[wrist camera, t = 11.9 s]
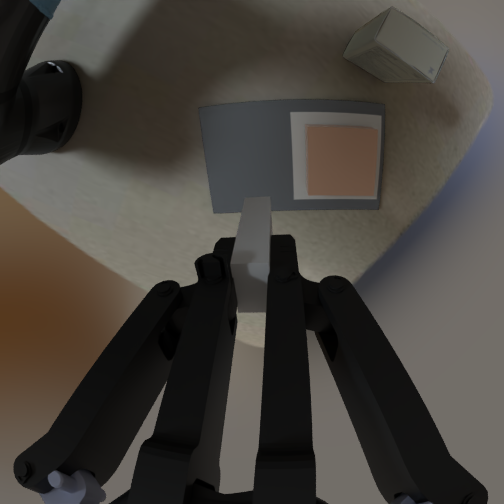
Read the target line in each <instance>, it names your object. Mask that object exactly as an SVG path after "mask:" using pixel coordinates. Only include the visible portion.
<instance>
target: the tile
mask: <svg viewBox="0 0 504 504" xmlns="http://www.w3.org/2000/svg"><path fill="white" fill-rule="evenodd" d="M377 144H378V130H377V129H375V128H373V127H367V126H352V125H329V124H305V145H306V190H307V193H308V196H313V195H349V196H374V187H375V176H376V162H377Z"/></svg>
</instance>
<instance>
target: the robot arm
mask: <svg viewBox="0 0 504 504" xmlns="http://www.w3.org/2000/svg"><path fill="white" fill-rule="evenodd" d="M60 1H61V0H0V164H2V163H4V162H6V161H8V160H10V159H11V158H13V157H15V156H18V155H42V154H47V153H50V152H52V151H54V150H56V149H58V148H60V147H62V146H63V145H64V144H65V143H66V142H67V141H68V140H69V139H70V137H71V136H72V134H73V132H74V130H75V128H76V126H77V123H78V120H79V117H80V112H81V105H82V91H81V85H80V81H79V78H78V76H77V74H76V72H75V70H74V69H73V68H72V67H71V66H70V65H69V64H68V63H66V62H64V61H60V60H53V61H45V62H41V63H39V64H37V65H35V66H33V67H31V68H29V69H27V70H25V69H26V67H27V64H28V62H29V60H30V57H31V55H32V53H33V51H34V49H35V47H36V44H37V42H38V40H39V38H40V37H41V35H42V33H43V31H44V29H45V27H46V26H47V24H48V22H49V21H50V20H51V19H52V18H53V14H54V12H55V10H56V8H57V6H58V5H59V3H60ZM194 264H195V268H196V271H197V275H198V282H197V283H195V284H192V285H189V286H185V287H180V285H179V284H178V283H177V282H175V281H173V280H167V281H162V282H160V283H158V284H156V285H155V286H154V287H153V288H152V289H151V290H150V291H149V293H148V294H147V295H146V297H145V298H144V299H143V300H142V301H141V303H140V304H139V305H138V307H137V308H136V309H135V310H134V312H133V313H132V314H131V315H130V317H129V318H128V319H127V321H126V322H125V323H124V324H123V326H122V327H121V328H120V330H119V331H118V332H117V334H116V335H115V336H114V337H113V339H112V340H111V341H110V343H109V344H108V345H107V347H106V348H105V349H104V351H103V352H102V354H101V355H100V356H99V358H98V359H97V361H96V362H95V363H94V365H93V366H92V367H91V369H90V370H89V372H88V373H87V374H86V376H85V377H84V379H83V380H82V381H81V383H80V384H79V386H78V387H77V389H76V390H75V392H74V393H73V395H72V396H71V397H70V399H69V401H68V402H67V404H66V405H65V406H64V408H63V409H62V411H61V413H60V414H59V416H58V417H57V419H56V420H55V422H54V423H53V425H52V427H51V428H50V430H49V432H48V433H46V434H45V435H44V436H43V437H42V438H40V439H39V440H38V441H37V442H35V443H34V444H33V445H32V446H30V447H29V448H28V449H26V450H25V451H24V452H22V453H21V454H20V455H19V456H18V457H17V458H16V459H15V462H14V474H15V478H16V479H17V481H18V482H19V483H20V484H21V485H22V486H23V487H25V488H28V489H30V490H32V491H35V492H38V493H39V494H40V496H41V497H42V499H43V501H44V503H45V504H99V503H100V502H102V501H104V500H105V499H106V493H105V491H104V490H103V489H101V487H102V486H103V485H104V484H105V483H106V482H107V481H108V480H109V479H110V477H111V476H112V475H113V474H114V472H115V471H116V470H117V468H118V466H119V465H120V463H121V461H122V460H123V458H124V456H125V454H126V452H127V450H128V449H129V447H130V445H131V443H132V442H133V440H134V438H135V436H136V434H137V433H138V431H139V429H140V427H141V426H142V424H143V421H144V420H145V418H146V417H147V415H148V413H149V411H150V409H151V408H152V406H153V404H154V402H155V401H156V399H157V397H158V395H159V394H160V392H161V390H162V388H163V387H164V385H165V383H166V381H167V384H166V387H165V391H164V395H163V398H162V402H161V406H160V410H159V413H158V417H157V421H156V426H155V429H154V433H153V435H152V436H151V438H149V439H147V440H145V441H144V442H143V444H142V445H141V447H140V450H139V454H138V458H137V462H136V466H135V470H134V474H133V479H132V483H131V488H130V489H129V490H128V491H127V492H125V493H124V494H122V495H121V496H120V497H118V498H117V499H115V500H114V501H112V502H111V503H109V504H328V503H326V502H325V501H323V500H321V499H320V498H318V497H316V463H315V454H314V451H313V441H312V414H311V394H310V376H309V362H308V348H307V336H306V329H307V330H312V331H315V335H316V337H317V340H318V342H319V345H320V347H321V349H322V351H323V354H324V356H325V359H326V361H327V363H328V366H329V368H330V370H331V373H332V375H333V377H334V380H335V382H336V385H337V387H338V389H339V392H340V394H341V397H342V399H343V401H344V404H345V406H346V409H347V411H348V414H349V416H350V419H351V421H352V424H353V426H354V428H355V431H356V434H357V436H358V439H359V441H360V444H361V447H362V449H363V452H364V454H365V457H366V459H367V462H368V465H369V467H370V470H371V473H372V475H373V478H374V480H375V482H376V485H377V487H378V489H379V491H380V493H381V494H382V495H383V497H384V499H385V500H386V501H387V502H388V504H487V501H488V492H487V490H486V488H485V487H484V486H483V485H482V484H481V483H480V482H479V481H478V480H477V479H476V478H474V477H473V476H472V475H471V474H470V473H469V472H468V471H467V470H465V469H464V468H463V467H462V466H461V465H460V464H459V463H458V462H457V461H455V459H453V458H452V457H451V456H450V454H449V452H448V450H447V447H446V445H445V443H444V441H443V439H442V437H441V435H440V433H439V431H438V429H437V427H436V425H435V423H434V421H433V419H432V417H431V415H430V413H429V411H428V409H427V407H426V405H425V404H424V402H423V400H422V398H421V396H420V394H419V393H418V391H417V389H416V387H415V385H414V384H413V382H412V380H411V378H410V377H409V375H408V373H407V371H406V370H405V368H404V366H403V364H402V363H401V361H400V359H399V358H398V356H397V355H396V353H395V351H394V349H393V348H392V346H391V344H390V343H389V341H388V339H387V338H386V336H385V335H384V333H383V331H382V330H381V328H380V326H379V325H378V323H377V322H376V320H375V319H374V317H373V316H372V314H371V312H370V311H369V309H368V308H367V306H366V305H365V303H364V302H363V300H362V299H361V297H360V296H359V294H358V293H357V291H356V290H355V288H354V287H353V285H352V284H351V282H349V281H348V280H347V279H346V278H344V277H341V276H336V275H335V276H328V277H325V278H323V279H322V280H321V281H320V283H317V282H313V281H309V280H307V279H305V278H304V277H302V276H301V274H300V273H299V269H298V261H297V252H296V244H295V239H294V238H293V237H292V236H291V235H290V234H288V235H272V217H271V200H270V196H269V197H249V198H245V200H244V204H243V209H242V213H241V218H240V222H239V226H238V231H237V235H236V237H229V238H221V239H220V240H219V241H218V242H217V243H216V244H215V247H214V251H213V253H209V254H205V255H203V256H201V257H199V258H198V259H197V260H196V261H195V263H194ZM237 307H238V313H239V312H266V327H265V348H264V368H263V386H262V403H261V420H260V435H259V448H258V453H257V457H256V465H255V477H254V489H253V491H247V492H241V493H233V494H222V493H219V485H220V467H219V458H220V450H221V442H222V435H223V426H224V419H225V412H226V404H227V396H228V389H229V381H230V373H231V366H232V358H233V350H234V343H235V336H236V329H237V315H236V311H237Z"/></svg>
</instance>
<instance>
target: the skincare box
mask: <svg viewBox="0 0 504 504" xmlns="http://www.w3.org/2000/svg"><path fill="white" fill-rule="evenodd" d="M448 52H449V49H448V48H447V47H446V46H445V45H444V44H443V43H442V42H441V41H440V40H439V39H437V38H436V37H435V36H434V35H433V34H431V33H430V32H429V31H428V30H426V29H425V28H424V27H422V26H421V25H420V24H418V23H417V22H415V21H414V20H413V19H411V18H410V17H408V16H407V15H405V14H404V13H402V12H401V11H399V10H398V9H396V8H394V7H390V8H388V9H387V10H385V11H384V12H382V13H381V14H380V15H378V16H377V17H375V18H374V19H372V20H371V21H370V22H368V23H367V24H365V25H364V26H363V27H361V28H360V29H358V30H357V31H356V32H355V33H354V35H353V37H352V39H351V40H350V42H349V44H348V46H347V48H346V50H345V52H344V54H343V57H344V58H346V59H347V60H349V61H351V62H352V63H354V64H356V65H357V66H359V67H361V68H362V69H364V70H366V71H367V72H369V73H370V74H372V75H374V76H375V77H377V78H378V79H380V80H382V81H383V82H385V83H391V82H411V83H435V81H436V79H437V77H438V75H439V73H440V71H441V68H442V66H443V64H444V62H445V59H446V57H447V54H448Z"/></svg>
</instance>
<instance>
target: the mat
mask: <svg viewBox="0 0 504 504" xmlns="http://www.w3.org/2000/svg"><path fill="white" fill-rule="evenodd" d="M199 116H200V124H201V131H202V139H203V146H204V153H205V160H206V167H207V174H208V180H209V187H210V193H211V200H212V206H213V212H214V213H231V212H242V209H243V204H244V200H245V198H249V197H269V196H270V200H271V211H281V210H335V209H370V210H379V202H380V193H381V183H382V172H383V158H384V137H385V104H379V103H369V102H357V101H342V100H309V99H302V100H268V101H253V102H241V103H231V104H222V105H214V106H207V107H200V108H199ZM305 124H329V125H352V126H367V127H373V128H375V129H377V130H378V144H377V162H376V176H375V187H374V196H349V195H313V196H308V193H307V190H306V145H305Z"/></svg>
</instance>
